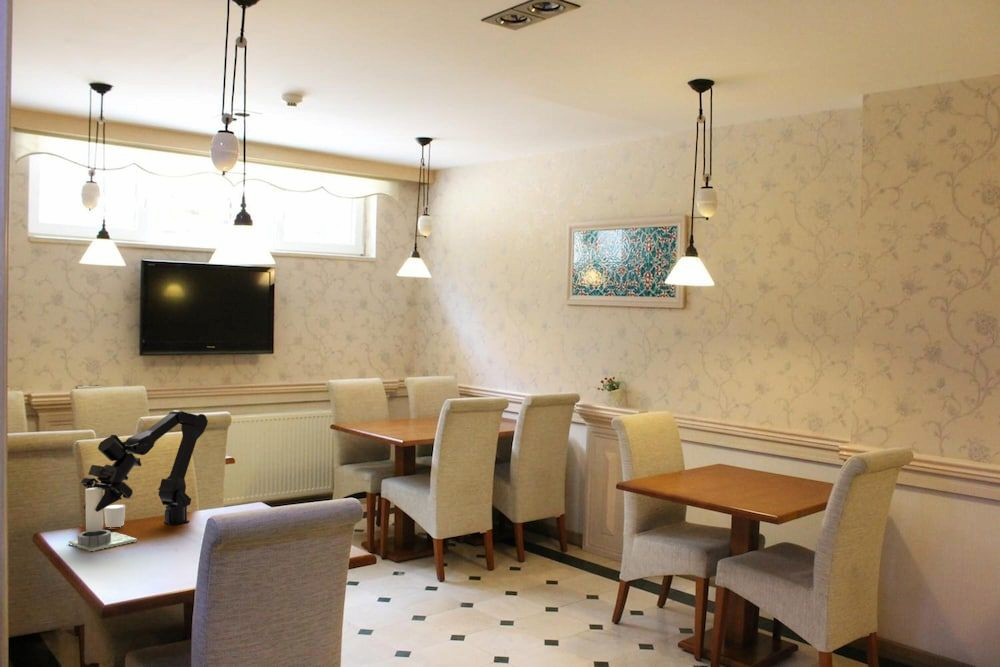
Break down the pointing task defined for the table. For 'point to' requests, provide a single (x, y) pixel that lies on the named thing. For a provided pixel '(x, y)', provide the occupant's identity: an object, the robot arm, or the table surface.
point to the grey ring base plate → (101, 540)
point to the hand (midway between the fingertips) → (90, 510)
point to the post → (93, 509)
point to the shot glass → (114, 515)
